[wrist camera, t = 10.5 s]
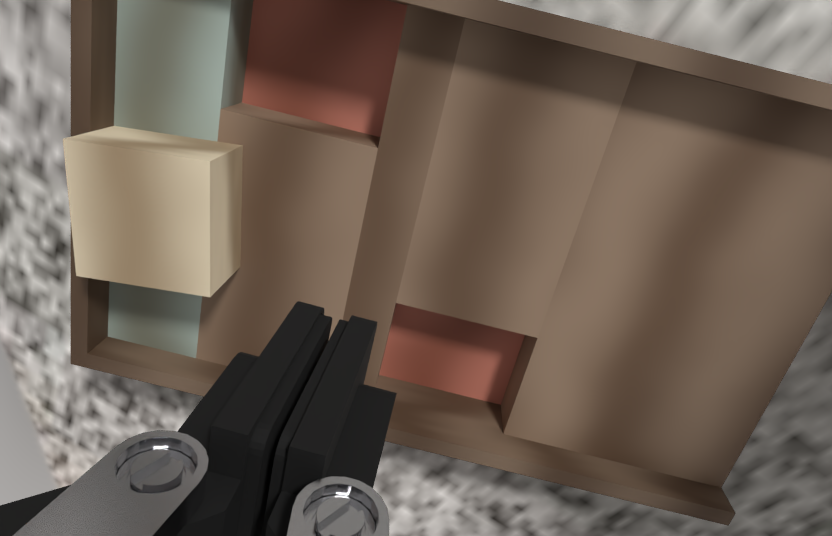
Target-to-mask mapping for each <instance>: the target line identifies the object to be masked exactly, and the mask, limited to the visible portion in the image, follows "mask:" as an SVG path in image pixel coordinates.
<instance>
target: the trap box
mask: <svg viewBox="0 0 832 536" xmlns="http://www.w3.org/2000/svg"><path fill="white" fill-rule="evenodd" d="M111 126H118V127H125V128H131V129H138V130H145V131H151V132H158V133H164V134H171V135H178V136H184V137H191V138H197V139H204V140H211V141H217V142H224V143H230V144H237V145H243V157H242V208H241V260H240V268H239V269H238V270H237V271H236V272H235V273H234V274H233V275H232V276H231V277H230V278H229V279H228V280H227V281H226V282H225V283H224V284H223V285H222V286H221V287H220V288H219V289H218V290H217V291H216V292H215V293H214V294H213V295H212V296H211V297H205V296H199V295H192V294H186V293H180V292H174V291H167V290H161V289H155V288H149V287H142V286H136V285H130V284H123V283H117V282H111V281H105V280H98V279H92V278H86V277H80V276H76V269H75V258H74V248H73V238H72V228H71V364H74V365H78V366H82V367H86V368H90V369H94V370H98V371H102V372H106V373H111V374H115V375H119V376H123V377H127V378H131V379H135V380H139V381H143V382H147V383H151V384H155V385H159V386H163V387H167V388H172V389H176V390H180V391H184V392H188V393H192V394H196V395H200V396H205V395H206V394H207V392H208V391H209V390H210V388H211V387H212V386H213V384H214V383H215V382H216V380H217V379H218V378H219V376H220V375H221V374H222V372H223V371H224V370H225V369H226V367H227V366H228V365H229V363H230V362H231V361H232V359H233V358H234V357H235V356H236V355H237V354H238V353H240V352H244V353H247V354H251V355H255V356H260V354H261V353H262V351H263V350H264V348H265V347H266V346H267V344H268V343H269V341H270V340H271V338H272V337H273V335H274V334H275V332H276V331H277V330H278V328H279V327H280V325H281V324H282V322H283V321H284V319H285V318H286V317H287V315H288V314H289V312H290V311H291V309H292V308H293V306H294V305H295V303H296V302H297V301H300V302H304V303H308V304H312V305H315V306H319V307H323V308H324V315H326V316H330V317H332V325H331V330H330V336H329V339H330V337H331V335H332V333H333V331H334V329H335V327H336V325H337V323H338V321H339V320H340V319H341V320H345V321H349V319H350V317H351V316H352V315H354V316H357V317H361V318H365V319H369V320H373V321H376V322H377V329H376V333H375V337H374V342H373V346H372V350H371V355H370V359H369V363H368V368H367V372H366V376H365V381H364V384H365V385H368V386H372V387H376V388H380V389H383V390H387V391H391V392H395V393H397V394H396V398H395V402H394V406H393V410H392V414H391V418H390V422H389V426H388V430H387V434H386V438H385V441H387V442H391V443H395V444H399V445H403V446H407V447H411V448H415V449H420V450H424V451H428V452H432V453H436V454H440V455H444V456H448V457H452V458H456V459H460V460H464V461H468V462H472V463H476V464H481V465H485V466H489V467H493V468H497V469H501V470H505V471H509V472H513V473H517V474H521V475H525V476H529V477H533V478H537V479H542V480H546V481H550V482H554V483H558V484H562V485H566V486H570V487H574V488H578V489H582V490H586V491H590V492H594V493H598V494H602V495H607V496H611V497H615V498H619V499H623V500H627V501H631V502H635V503H639V504H643V505H647V506H651V507H655V508H659V509H663V510H668V511H672V512H676V513H680V514H684V515H688V516H692V517H696V518H700V519H704V520H708V521H712V522H716V523H720V524H724V525H729V523H730V522H731V520H732V518H733V517H734V515H735V512H734V510H733V508H732V506H731V504H730V503H729V501H728V499H727V497H726V495H725V494H724V492H723V490H722V488H721V487H722V485H723V484H724V482H725V480H726V478H727V476H728V475H729V473H730V471H731V469H732V468H733V466H734V464H735V462H736V461H737V459H738V457H739V455H740V453H741V452H742V450H743V448H744V446H745V445H746V443H747V441H748V439H749V437H750V436H751V434H752V432H753V430H754V429H755V427H756V425H757V423H758V422H759V420H760V418H761V416H762V414H763V413H764V411H765V409H766V407H767V406H768V404H769V402H770V400H771V398H772V397H773V395H774V393H775V391H776V390H777V388H778V386H779V384H780V383H781V381H782V379H783V377H784V375H785V374H786V372H787V370H788V368H789V367H790V365H791V363H792V361H793V359H794V358H795V356H796V354H797V352H798V351H799V349H800V347H801V345H802V343H803V342H804V340H805V338H806V336H807V335H808V333H809V331H810V329H811V328H812V326H813V324H814V322H815V320H816V319H817V317H818V315H819V313H820V312H821V310H822V308H823V306H824V304H825V303H826V301H827V299H828V297H829V296H830V294H831V292H832V84H828V83H824V82H820V81H816V80H812V79H808V78H804V77H800V76H796V75H792V74H788V73H784V72H780V71H776V70H772V69H768V68H764V67H761V66H757V65H753V64H749V63H745V62H741V61H737V60H733V59H729V58H725V57H721V56H717V55H713V54H709V53H705V52H701V51H697V50H693V49H689V48H685V47H681V46H677V45H673V44H669V43H665V42H661V41H657V40H654V39H650V38H646V37H642V36H638V35H634V34H630V33H626V32H622V31H618V30H614V29H610V28H606V27H602V26H598V25H594V24H590V23H586V22H582V21H578V20H574V19H570V18H566V17H562V16H558V15H554V14H550V13H547V12H543V11H539V10H535V9H531V8H527V7H523V6H519V5H515V4H511V3H507V2H503V1H499V0H71V137H72V136H76V135H80V134H84V133H88V132H92V131H96V130H100V129H104V128H107V127H111Z"/></svg>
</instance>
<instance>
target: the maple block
mask: <svg viewBox="0 0 832 536" xmlns="http://www.w3.org/2000/svg"><path fill="white" fill-rule="evenodd" d="M63 146H64V156H65V166H66V177H67V187H68V197H69V207H70V218H71V228H72V238H73V248H74V258H75V269H76V276H80V277H86V278H92V279H98V280H105V281H111V282H117V283H123V284H130V285H136V286H142V287H149V288H155V289H161V290H167V291H174V292H180V293H186V294H192V295H199V296H205V297H211V296H212V295H213V294H214V293H215V292H216V291H217V290H218V289H219V288H220V287H221V286H222V285H223V284H224V283H225V282H226V281H227V280H228V279H229V278H230V277H231V276H232V275H233V274H234V273H235V272H236V271H237V270H238V269H239V268H240V260H241V208H242V157H243V145H237V144H230V143H224V142H217V141H211V140H204V139H197V138H191V137H184V136H178V135H171V134H164V133H158V132H151V131H145V130H138V129H131V128H125V127H118V126H111V127H107V128H104V129H100V130H96V131H92V132H88V133H84V134H80V135H76V136H72V137H68V138H64V139H63Z"/></svg>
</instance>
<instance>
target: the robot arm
mask: <svg viewBox="0 0 832 536" xmlns="http://www.w3.org/2000/svg"><path fill="white" fill-rule="evenodd" d="M331 325H332V317H330V316H326V315H324V308H323V307H319V306H315V305H312V304H308V303H304V302H300V301H297V302H296V303H295V305H294V306H293V308H292V309H291V311H290V312H289V314H288V315H287V317H286V318H285V319H284V321H283V322H282V324H281V325H280V327H279V328H278V330H277V331H276V332H275V334H274V335H273V337H272V338H271V340H270V341H269V343H268V344H267V346H266V347H265V348H264V350H263V351H262V353H261V354H260V356H255V355H251V354H247V353H244V352H240V353H238V354H237V355H236V356H235V357H234V358H233V359H232V361H231V362H230V363H229V365H228V366H227V367H226V369H225V370H224V371H223V372H222V374H221V375H220V376H219V378H218V379H217V380H216V382H215V383H214V384H213V386H212V387H211V388H210V390H209V391H208V392H207V394H206V395H205V396H204V397H203V399H202V400H201V401H200V403H199V404H198V405H197V407H196V408H195V409H194V411H193V412H192V413H191V415H190V416H189V417H188V418H187V420H186V421H185V422H184V424H183V425H182V426H181V428H180V429H179V430H178V432H176V431H165V430H157V431H151V432H145V433H141V434H138V435H136V436H133V437H131V438H128V439H127V440H125V441H124V442H122V443H121V444H119V445H117V446H116V447H115V448H114V449H112V450H111V451H110V452H109V453H108V454H107V455H105V456H104V457H103V458H102V459H101V460H100V461H99V462H97V463H96V464H95V465H94V466H93V467H92V468H90V469H89V470H88V471H87V472H86V473H85V474H83V475H82V476H81V477H80V478H79V479H78V480H77V481H75V482H74V483H73V484H72V485H69V486H66V487H62V488H59V489H55V490H52V491H49V492H45V493H42V494H39V495H35V496H32V497H28V498H25V499H21V500H18V501H14V502H11V503H8V504H4V505H1V506H0V536H389V515H388V509H387V507H386V505H385V503H384V501H383V499H382V497H381V496H380V495H379V494H378V493H377V492H376V491H375V490H374V489H373V485H374V481H375V477H376V473H377V469H378V465H379V461H380V457H381V453H382V450H383V446H384V442H385V438H386V434H387V430H388V426H389V422H390V418H391V414H392V410H393V406H394V402H395V398H396V394H397V393H395V392H391V391H387V390H383V389H380V388H376V387H372V386H368V385H365V384H364V381H365V376H366V372H367V368H368V363H369V359H370V355H371V350H372V346H373V342H374V337H375V333H376V329H377V322H376V321H373V320H369V319H365V318H361V317H357V316H354V315H352V316H351V317H350V319H349V321H345V320H341V319H340V320H339V321H338V323H337V325H336V327H335V329H334V331H333V333H332V335H331V337H330V339H329V336H330V330H331Z"/></svg>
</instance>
